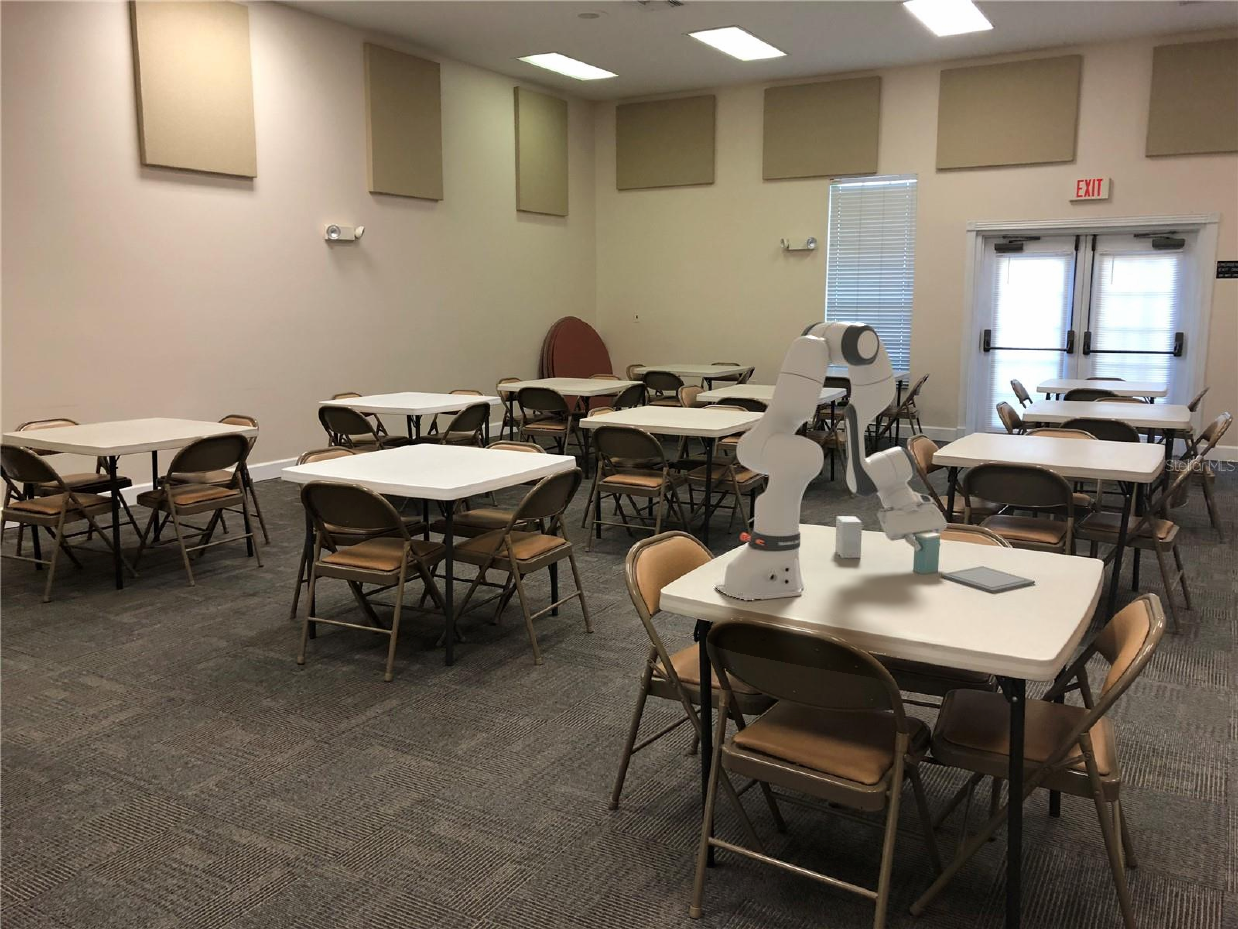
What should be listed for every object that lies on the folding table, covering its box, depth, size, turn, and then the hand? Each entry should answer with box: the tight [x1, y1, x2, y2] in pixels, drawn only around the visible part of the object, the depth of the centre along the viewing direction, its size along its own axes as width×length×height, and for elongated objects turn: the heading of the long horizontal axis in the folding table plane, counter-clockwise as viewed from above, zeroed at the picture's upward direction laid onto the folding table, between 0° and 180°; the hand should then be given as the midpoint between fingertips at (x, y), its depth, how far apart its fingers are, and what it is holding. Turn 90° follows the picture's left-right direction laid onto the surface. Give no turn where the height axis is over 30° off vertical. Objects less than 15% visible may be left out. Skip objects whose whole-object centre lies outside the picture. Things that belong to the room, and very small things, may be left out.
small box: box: [834, 515, 863, 559], centre depth 256 cm, size 8×6×10 cm
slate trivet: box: [940, 566, 1036, 594], centre depth 231 cm, size 16×16×1 cm
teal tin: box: [912, 531, 941, 575], centre depth 239 cm, size 5×4×10 cm
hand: (928, 548), depth 238 cm, fingers closed on teal tin, 5 cm apart
